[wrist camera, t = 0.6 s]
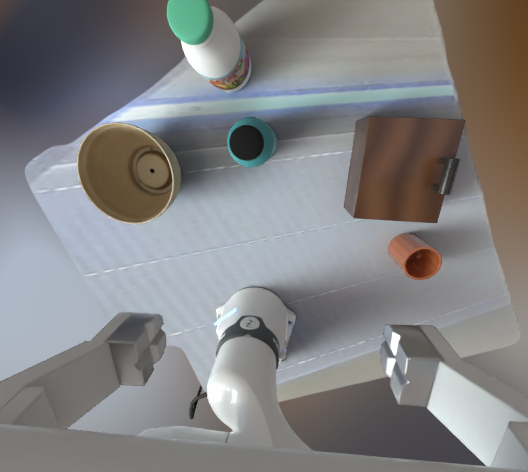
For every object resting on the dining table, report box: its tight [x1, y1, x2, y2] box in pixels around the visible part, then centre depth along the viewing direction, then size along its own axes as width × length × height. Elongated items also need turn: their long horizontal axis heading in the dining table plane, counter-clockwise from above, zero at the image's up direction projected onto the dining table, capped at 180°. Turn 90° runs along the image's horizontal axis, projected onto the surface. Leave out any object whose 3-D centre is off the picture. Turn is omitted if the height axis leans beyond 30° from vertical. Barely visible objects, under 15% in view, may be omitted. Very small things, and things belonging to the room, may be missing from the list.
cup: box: [388, 233, 442, 280], centre depth 49 cm, size 6×6×8 cm
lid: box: [353, 117, 465, 223], centre depth 39 cm, size 14×16×5 cm
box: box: [344, 118, 368, 217], centre depth 45 cm, size 13×16×7 cm
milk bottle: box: [167, 0, 251, 92], centre depth 35 cm, size 8×8×20 cm
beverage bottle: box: [227, 117, 279, 167], centre depth 39 cm, size 6×7×20 cm
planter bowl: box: [77, 122, 181, 224], centre depth 47 cm, size 16×16×11 cm
